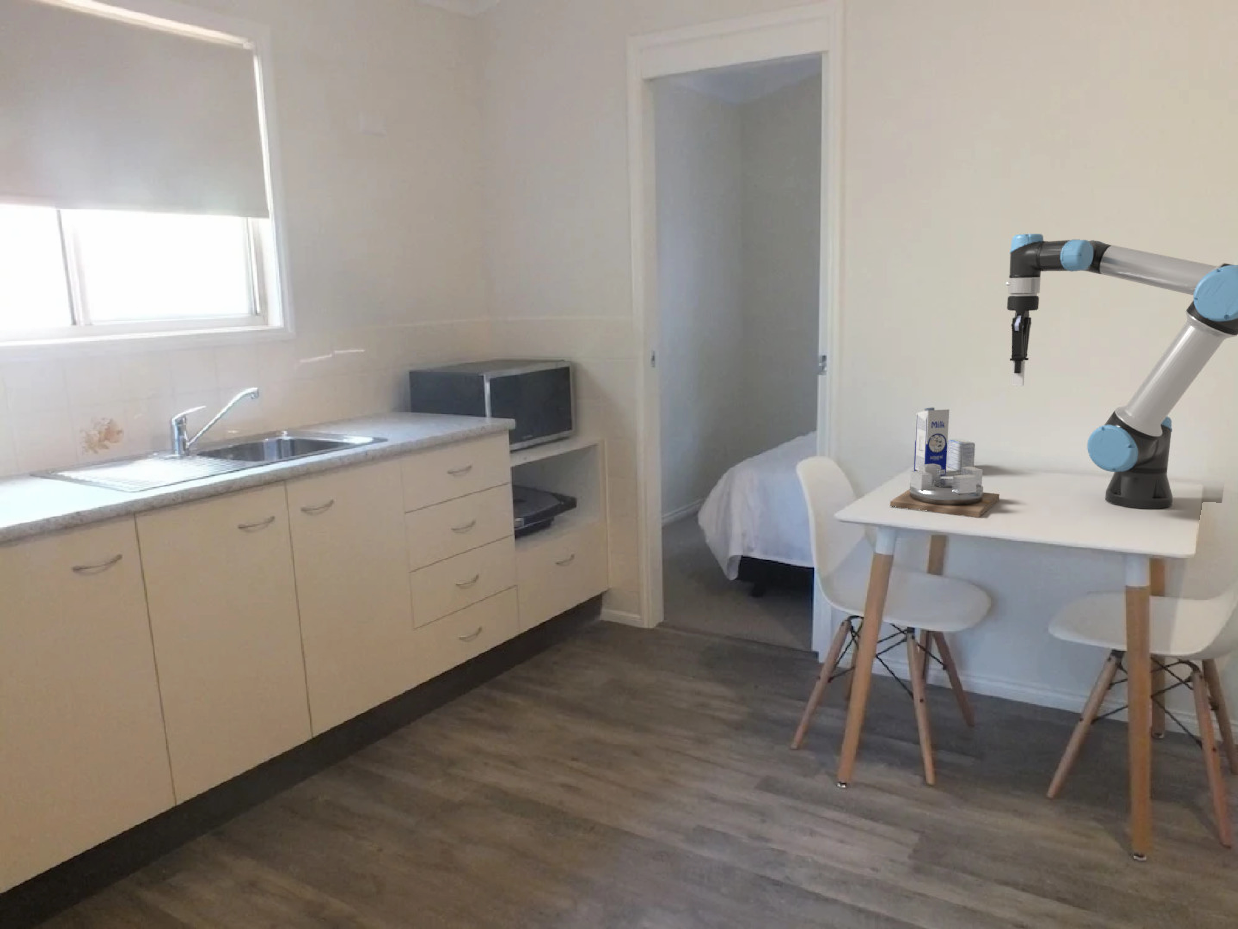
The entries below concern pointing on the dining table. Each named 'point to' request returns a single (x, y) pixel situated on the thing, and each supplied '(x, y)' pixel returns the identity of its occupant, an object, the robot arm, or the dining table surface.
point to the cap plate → (966, 510)
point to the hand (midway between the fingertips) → (1017, 385)
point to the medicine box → (960, 454)
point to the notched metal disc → (946, 486)
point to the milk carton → (931, 438)
